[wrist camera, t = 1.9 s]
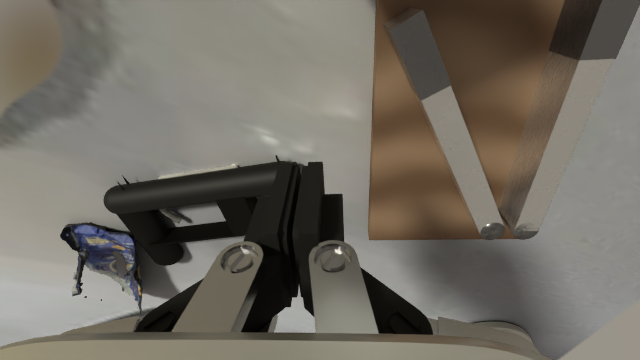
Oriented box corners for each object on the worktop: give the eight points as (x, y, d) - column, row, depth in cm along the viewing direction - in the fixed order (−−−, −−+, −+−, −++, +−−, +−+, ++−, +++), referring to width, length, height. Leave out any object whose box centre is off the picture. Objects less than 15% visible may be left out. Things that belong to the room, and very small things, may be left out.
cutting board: (511, 228, 32) (518, 238, 31) (368, 230, 33) (369, 240, 32) (626, -80, 19) (647, -84, 17) (378, -60, 20) (380, -63, 18)
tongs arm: (492, 212, 29) (508, 234, 26) (470, 220, 30) (483, 243, 27) (412, 6, 20) (423, 9, 18) (383, 24, 21) (389, 30, 18)
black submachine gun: (324, 277, 35) (289, 160, 26) (166, 291, 38) (82, 191, 28) (325, 254, 37) (293, 141, 28) (177, 269, 40) (104, 170, 31)
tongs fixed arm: (516, 215, 29) (535, 239, 26) (494, 215, 29) (510, 240, 27) (612, -40, 18) (660, -44, 16) (576, -37, 19) (617, -41, 16)
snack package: (65, 264, 39) (153, 297, 42) (21, 302, 33) (127, 338, 36) (87, 191, 35) (183, 233, 38) (41, 220, 29) (159, 267, 32)
